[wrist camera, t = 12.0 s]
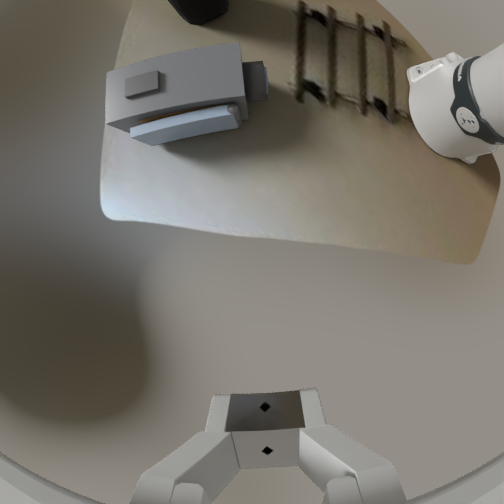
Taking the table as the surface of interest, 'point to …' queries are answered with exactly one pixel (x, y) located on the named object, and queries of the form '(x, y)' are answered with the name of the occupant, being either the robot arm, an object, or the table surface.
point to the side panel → (188, 125)
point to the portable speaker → (199, 9)
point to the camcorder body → (183, 85)
